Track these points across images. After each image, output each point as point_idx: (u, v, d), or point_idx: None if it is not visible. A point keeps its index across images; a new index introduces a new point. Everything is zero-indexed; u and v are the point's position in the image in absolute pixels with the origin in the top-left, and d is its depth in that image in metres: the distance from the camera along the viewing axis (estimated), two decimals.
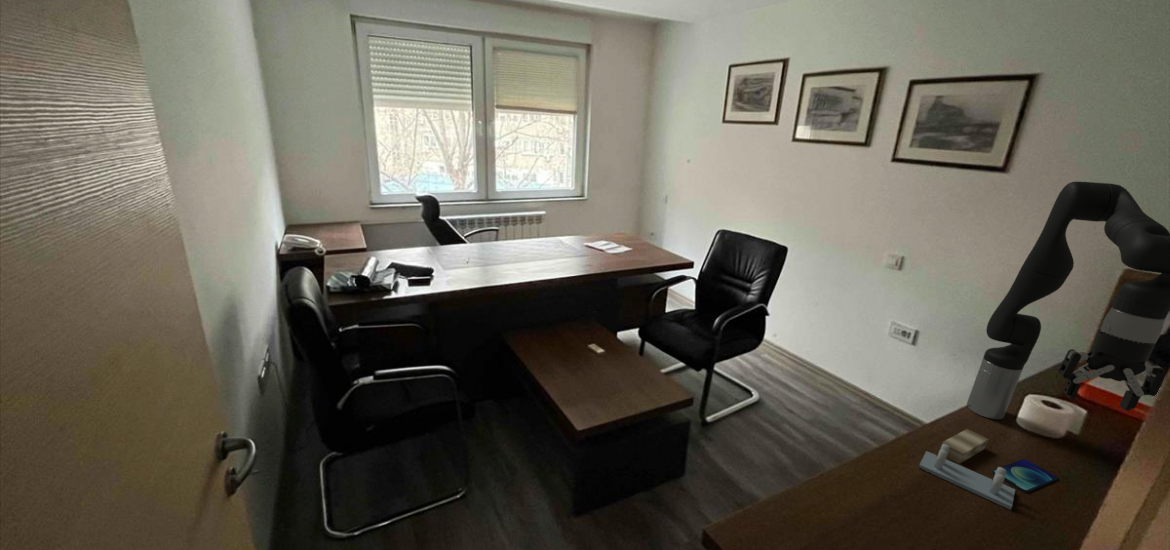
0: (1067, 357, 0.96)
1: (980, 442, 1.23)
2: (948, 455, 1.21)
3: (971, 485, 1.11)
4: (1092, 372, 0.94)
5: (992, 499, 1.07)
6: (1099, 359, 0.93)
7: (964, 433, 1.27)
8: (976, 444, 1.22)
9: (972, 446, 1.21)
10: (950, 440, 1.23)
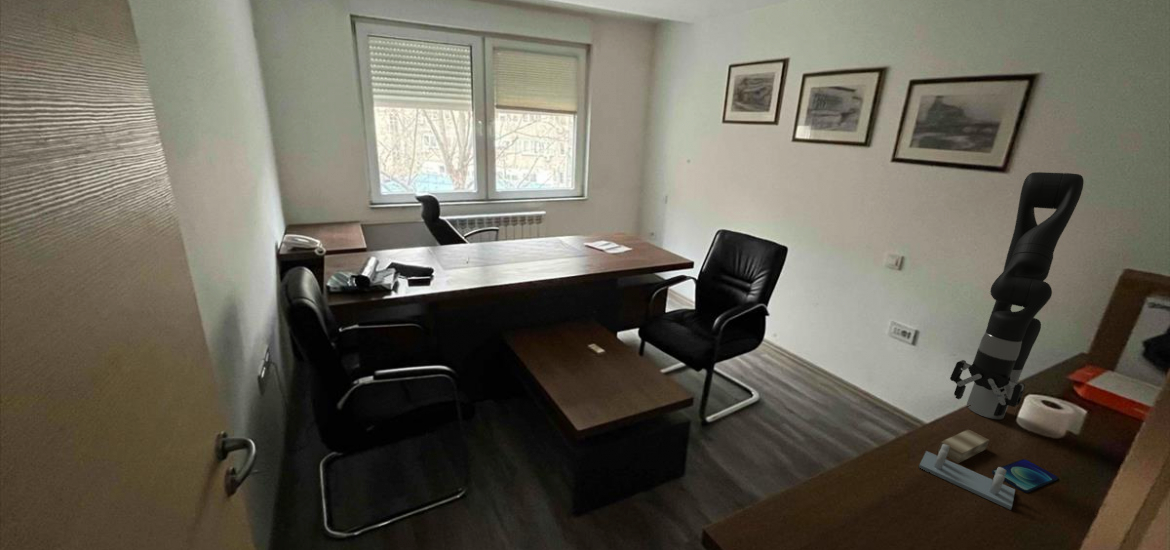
0: (1020, 392, 1.12)
1: (980, 442, 1.23)
2: (947, 454, 1.22)
3: (971, 485, 1.11)
4: None
5: (992, 499, 1.07)
6: None
7: (964, 433, 1.27)
8: (976, 444, 1.22)
9: (972, 446, 1.21)
10: (950, 440, 1.24)
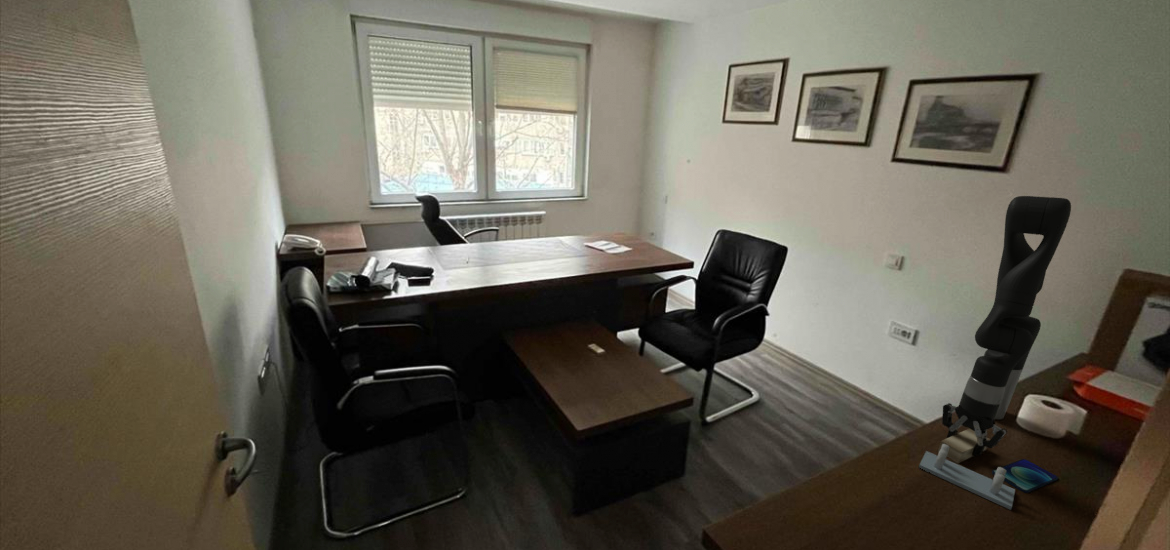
0: (1001, 437, 1.16)
1: None
2: None
3: (971, 485, 1.11)
4: None
5: (992, 499, 1.07)
6: None
7: (965, 432, 1.27)
8: None
9: (972, 445, 1.21)
10: (950, 439, 1.23)
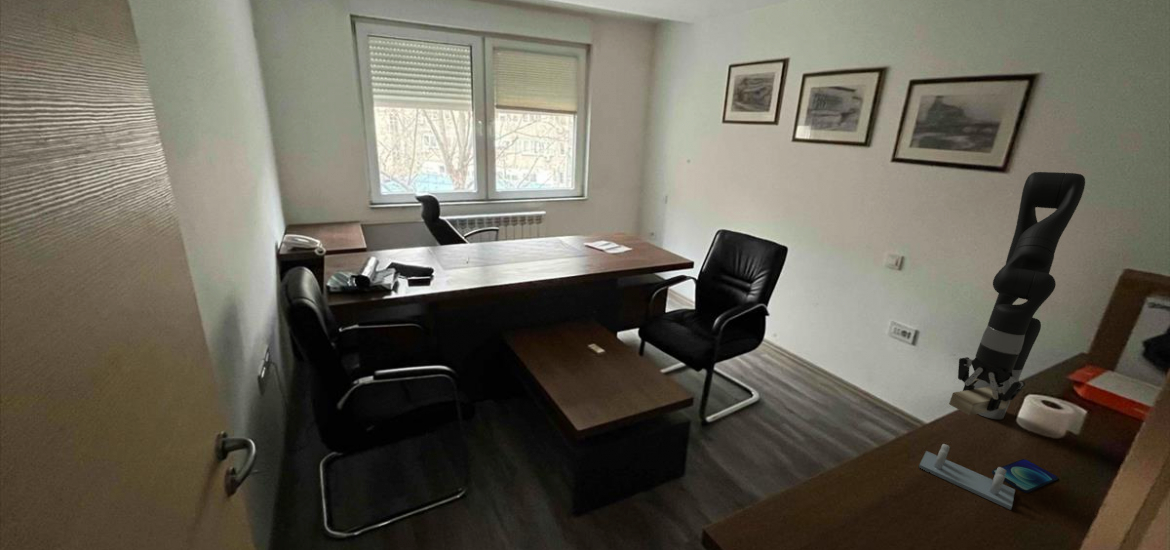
0: (1017, 389, 1.10)
1: None
2: (958, 406, 1.17)
3: (971, 485, 1.11)
4: None
5: (992, 499, 1.07)
6: None
7: (984, 389, 1.20)
8: None
9: (988, 399, 1.16)
10: (964, 392, 1.18)
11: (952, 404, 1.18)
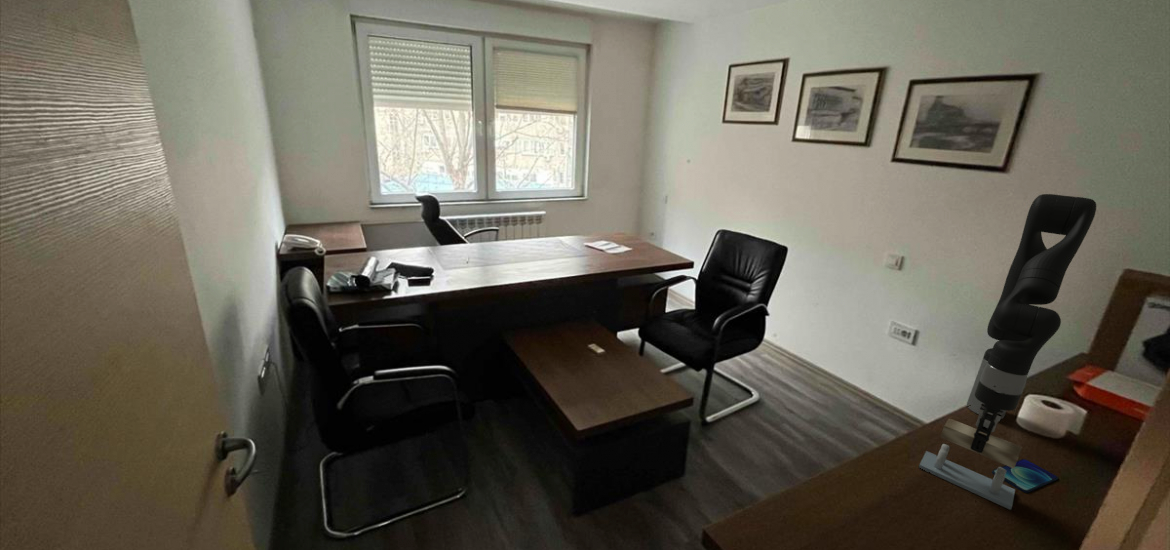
0: (982, 426, 1.04)
1: (997, 446, 1.06)
2: None
3: (971, 485, 1.11)
4: (995, 427, 1.05)
5: (992, 499, 1.07)
6: (996, 414, 1.04)
7: (1003, 440, 1.08)
8: None
9: None
10: (964, 425, 1.13)
11: None
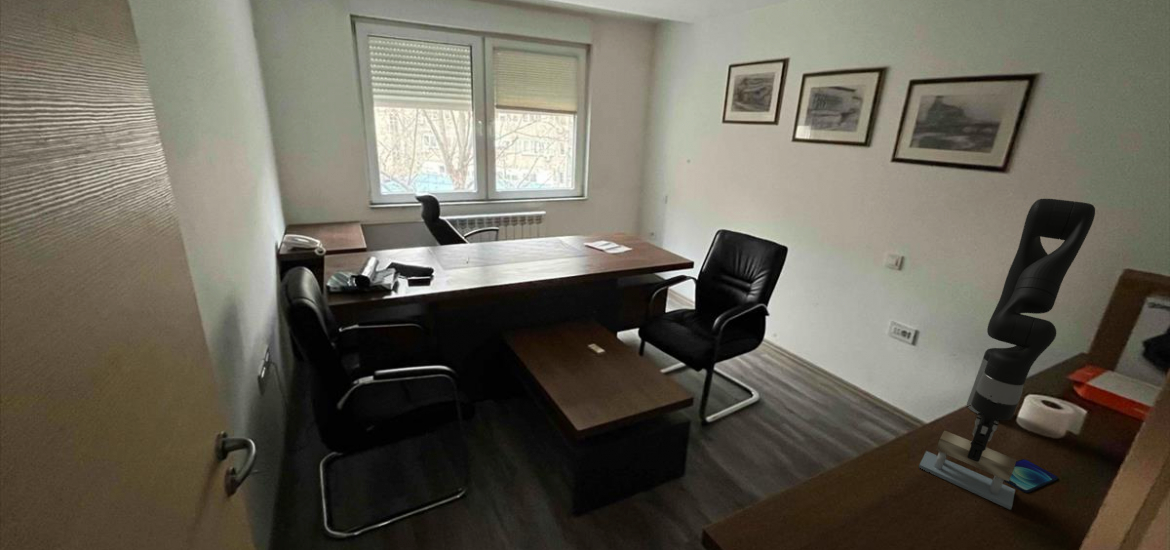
0: (980, 432, 1.04)
1: (992, 459, 1.07)
2: None
3: (971, 485, 1.11)
4: None
5: (992, 499, 1.07)
6: (993, 423, 1.05)
7: (997, 453, 1.09)
8: None
9: None
10: (959, 437, 1.14)
11: None
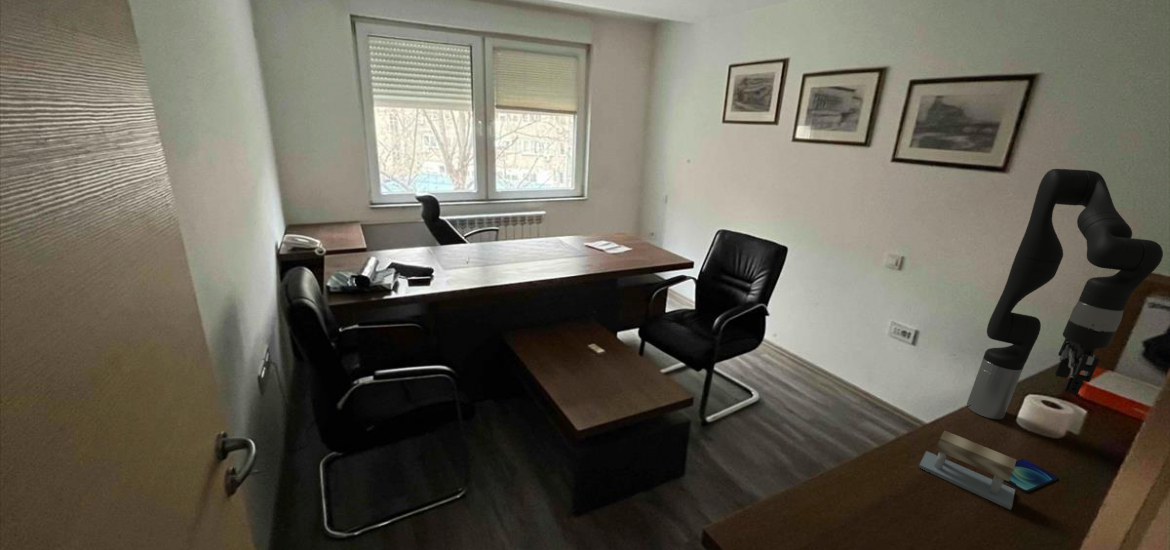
0: (1085, 363, 1.01)
1: (992, 459, 1.07)
2: None
3: (971, 485, 1.11)
4: None
5: (992, 499, 1.07)
6: None
7: (997, 453, 1.09)
8: (981, 454, 1.08)
9: (970, 450, 1.10)
10: (959, 437, 1.14)
11: None
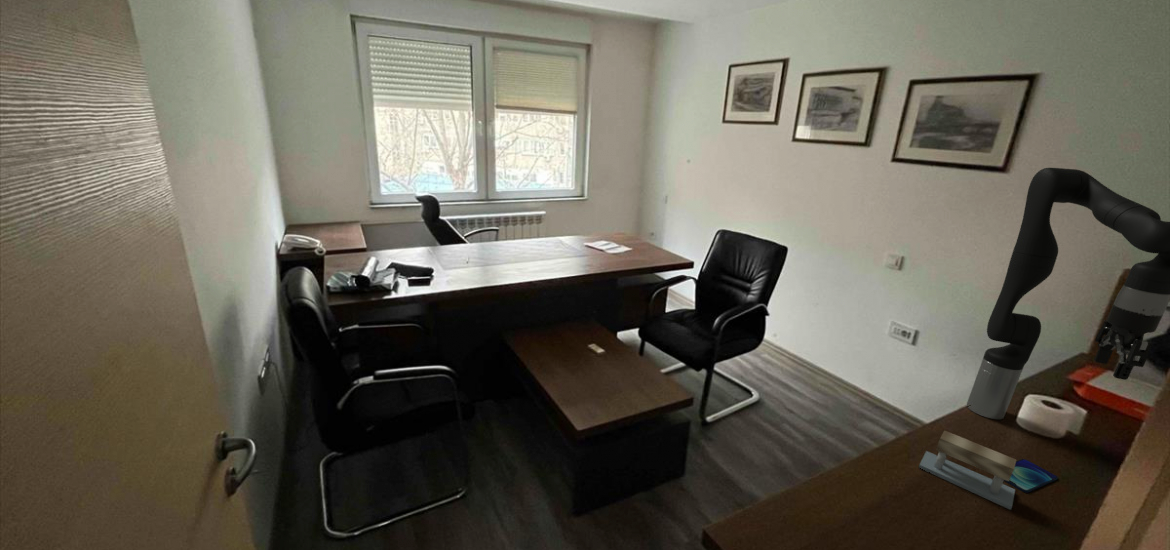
0: (1139, 349, 1.00)
1: (992, 459, 1.07)
2: None
3: (971, 485, 1.11)
4: None
5: (992, 499, 1.07)
6: None
7: (997, 453, 1.09)
8: (981, 454, 1.08)
9: (970, 450, 1.10)
10: (959, 437, 1.14)
11: None
